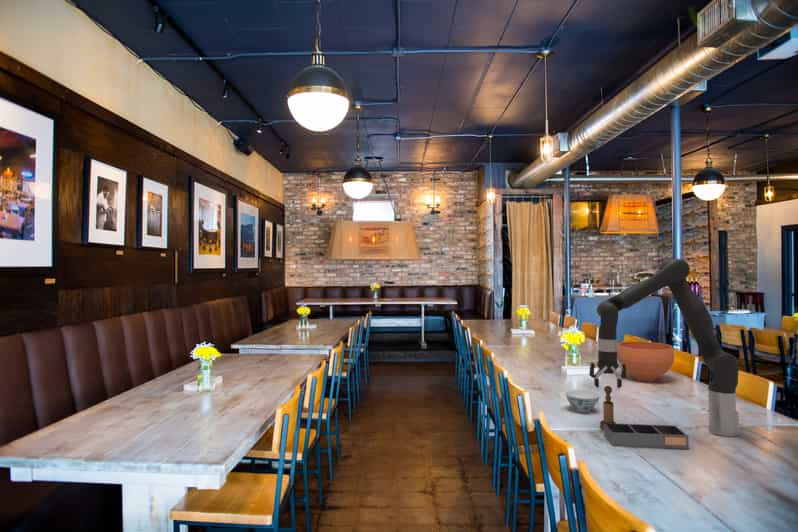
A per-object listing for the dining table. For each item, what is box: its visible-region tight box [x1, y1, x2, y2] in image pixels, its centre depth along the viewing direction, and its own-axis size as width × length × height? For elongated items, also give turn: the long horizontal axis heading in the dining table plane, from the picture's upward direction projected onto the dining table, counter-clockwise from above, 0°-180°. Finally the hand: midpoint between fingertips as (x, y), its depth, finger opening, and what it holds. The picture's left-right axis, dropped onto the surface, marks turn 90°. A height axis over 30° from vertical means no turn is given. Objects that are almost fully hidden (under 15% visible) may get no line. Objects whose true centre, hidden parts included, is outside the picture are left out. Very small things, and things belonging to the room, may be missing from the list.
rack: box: [603, 422, 690, 450], centre depth 181 cm, size 27×12×5 cm, turn 81°
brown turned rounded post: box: [599, 385, 618, 431], centre depth 197 cm, size 7×6×18 cm
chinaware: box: [565, 389, 600, 413], centre depth 222 cm, size 15×15×8 cm
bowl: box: [617, 340, 675, 382], centre depth 278 cm, size 30×30×20 cm
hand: (607, 387), depth 197 cm, fingers open, 8 cm apart
